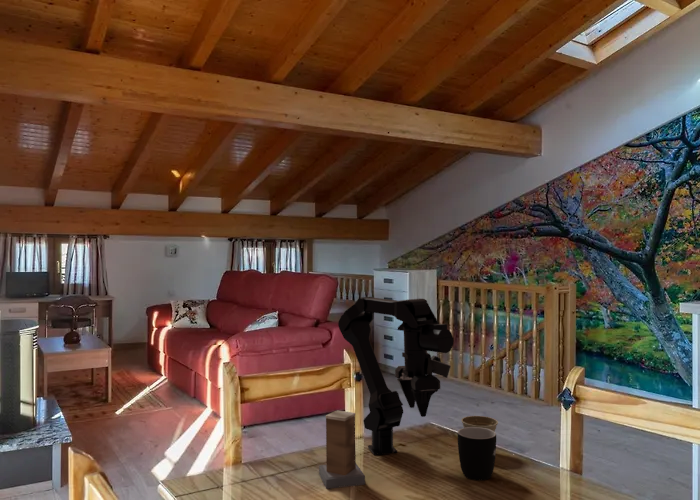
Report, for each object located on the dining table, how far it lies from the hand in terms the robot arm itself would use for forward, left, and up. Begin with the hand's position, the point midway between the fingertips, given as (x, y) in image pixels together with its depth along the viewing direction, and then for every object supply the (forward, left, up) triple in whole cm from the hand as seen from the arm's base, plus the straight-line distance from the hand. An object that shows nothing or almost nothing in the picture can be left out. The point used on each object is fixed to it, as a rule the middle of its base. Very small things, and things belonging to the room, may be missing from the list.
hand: (417, 411), depth 142 cm
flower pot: (-3, +18, -13) cm, 23 cm away
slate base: (+4, -21, -13) cm, 25 cm away
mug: (+9, +11, -13) cm, 20 cm away
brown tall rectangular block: (+4, -21, -11) cm, 24 cm away
